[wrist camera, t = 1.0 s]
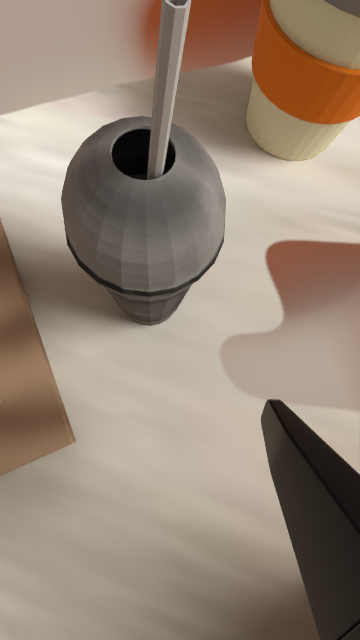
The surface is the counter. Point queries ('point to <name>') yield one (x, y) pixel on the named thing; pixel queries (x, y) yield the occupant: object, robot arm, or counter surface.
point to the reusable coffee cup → (304, 75)
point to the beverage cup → (146, 197)
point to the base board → (25, 378)
